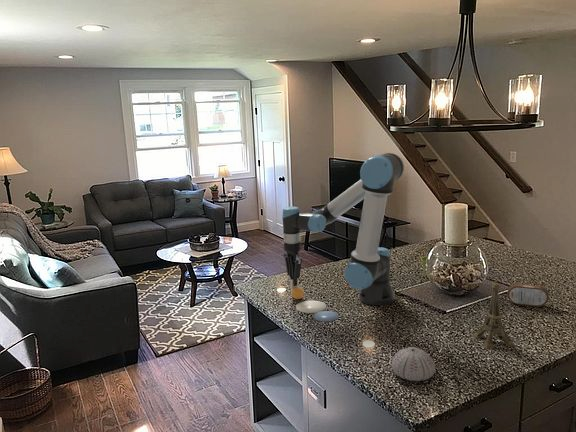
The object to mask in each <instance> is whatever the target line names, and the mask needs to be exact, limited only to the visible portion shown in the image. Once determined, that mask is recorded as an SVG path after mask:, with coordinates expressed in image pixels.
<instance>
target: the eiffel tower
mask: <svg viewBox="0 0 576 432" xmlns="http://www.w3.org/2000/svg"><path fill="white" fill-rule="evenodd" d="M490 287H492V291H491V292H492V293H491V298H490V304H489V305H490V306H489V309H488V311H486V315H487V316H486V320H485V321H484V322H482V324H483V325H482V326H481V327H480V328H478V330H476V331H475V332H474V333H471V336H472V337H473V338H475V339H482V338H484V334H485V333H486V332H487V334H488V335H487V337H486V339H485V340H484V343H482V344H481V345H482V347H483V348H484V349H486V350H487V349H488V350H490V349H494V348H495V347H494V344H493V339H494V338H493V336H494V335H495V337H502V338H503V340H504V342H503V344H505V345H506V346H507V347H508V348H510V347H517V345H516V344H515V343H514V342H513V340H512V339H511V337H510V336H509V334H508V333H507V331H506V327H505V326H504V325H503V321H502V319H503V315H502V314H501V308H500V298H499V288H501V286H500V284H499V283H498V282H497V278H495V280H494V283H491V285H490Z"/></svg>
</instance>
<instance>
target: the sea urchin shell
mask: <svg viewBox="0 0 576 432" xmlns="http://www.w3.org/2000/svg"><path fill="white" fill-rule="evenodd" d="M390 363H391V368H392V372H393V373H394V375H396V376H397V377H399V378H401V379H403V380H406V381H410V382H411V381H412V382H414V381H415V382H420V381H426V380H428V379H430V378H432V377H433V376H434V374H435V372H436V364H435V363H436V362H435V361H434V359H433V358H432V357H431V355H430V354H428V353H427V352H426V351H425V350H423V349H419V348H417V347H415V346H409V347H407V348H406V347H405V348H402V349H400V350H399V351H398V352H396V353H395V354H394V355H393V356H392V358H391V362H390Z"/></svg>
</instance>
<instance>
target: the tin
mask: <svg viewBox="0 0 576 432" xmlns="http://www.w3.org/2000/svg"><path fill="white" fill-rule="evenodd" d="M506 293H507V298H508V300H509V301H510V302H511V303H513V304H515V305H520V306H529V307H539V308H540V307H543V306H545V305H546V304H547V303H548V301H549V292H548V290H547V289H546V288H545V287H543V286H541V285H534V284H524V283H514V284H511V285H510V286H509V287H508V288H507V292H506Z"/></svg>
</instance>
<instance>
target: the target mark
mask: <svg viewBox="0 0 576 432" xmlns="http://www.w3.org/2000/svg"><path fill="white" fill-rule="evenodd" d="M326 304H327V303H325V302H322V301H319V300H305V301H300V302H298V303H297V304H296V305H295V310H297V311H298V312H301V313H305V314H312V313H313V314H316V313H318V312H321V311H325V310H326V308H327V305H326Z"/></svg>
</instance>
